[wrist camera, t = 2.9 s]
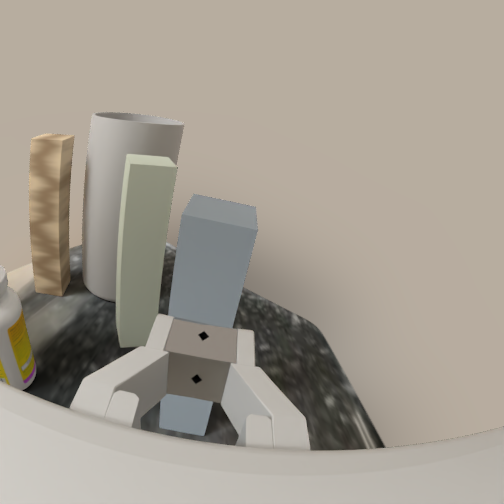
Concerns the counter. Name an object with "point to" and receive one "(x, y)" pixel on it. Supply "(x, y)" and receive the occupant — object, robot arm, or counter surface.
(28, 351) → the supplement bottle
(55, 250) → the post oak
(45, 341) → the counter surface
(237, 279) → the post slate
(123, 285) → the post sage
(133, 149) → the cylinder vase
